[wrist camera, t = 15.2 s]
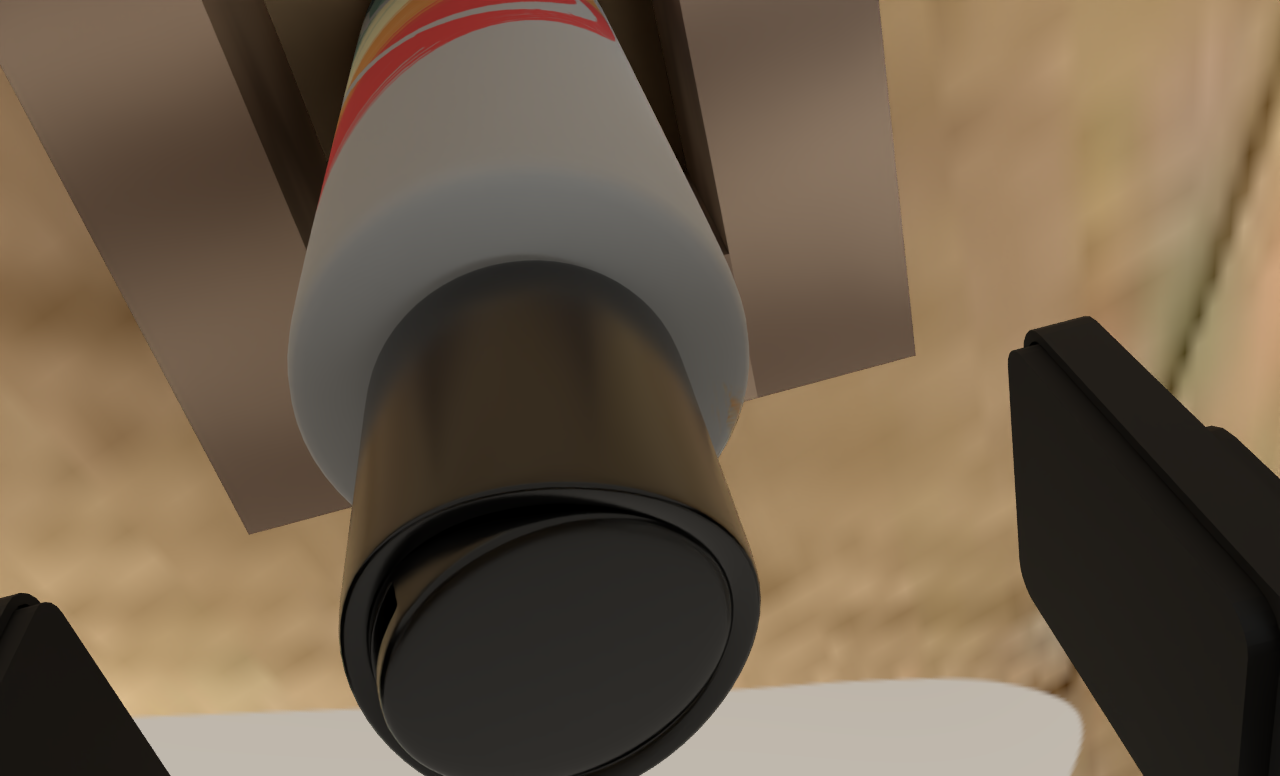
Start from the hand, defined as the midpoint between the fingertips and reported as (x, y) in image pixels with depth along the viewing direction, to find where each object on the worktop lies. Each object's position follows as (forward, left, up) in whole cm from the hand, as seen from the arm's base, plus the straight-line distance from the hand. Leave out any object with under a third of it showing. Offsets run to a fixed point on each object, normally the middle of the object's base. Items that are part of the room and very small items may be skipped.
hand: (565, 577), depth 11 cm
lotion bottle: (0, 0, -19) cm, 19 cm away
